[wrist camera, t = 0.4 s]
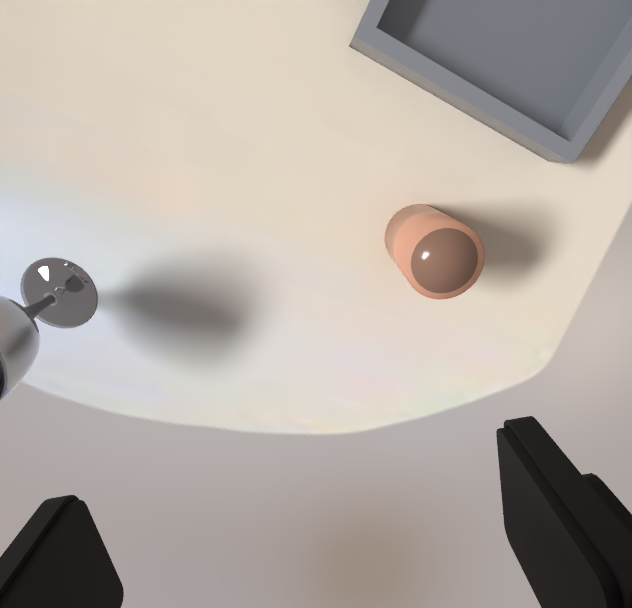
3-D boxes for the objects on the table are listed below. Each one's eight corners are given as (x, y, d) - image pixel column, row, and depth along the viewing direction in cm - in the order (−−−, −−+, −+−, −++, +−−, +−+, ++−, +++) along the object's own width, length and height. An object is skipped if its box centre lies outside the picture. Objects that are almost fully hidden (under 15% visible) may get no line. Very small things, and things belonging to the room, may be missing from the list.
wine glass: (112, 274, 43) (17, 341, 29) (88, 344, 46) (-10, 436, 32) (27, 239, 42) (-114, 290, 28) (7, 312, 44) (-132, 394, 30)
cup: (373, 251, 43) (389, 279, 34) (405, 192, 41) (431, 207, 33) (427, 278, 44) (456, 311, 36) (461, 222, 42) (500, 243, 34)
